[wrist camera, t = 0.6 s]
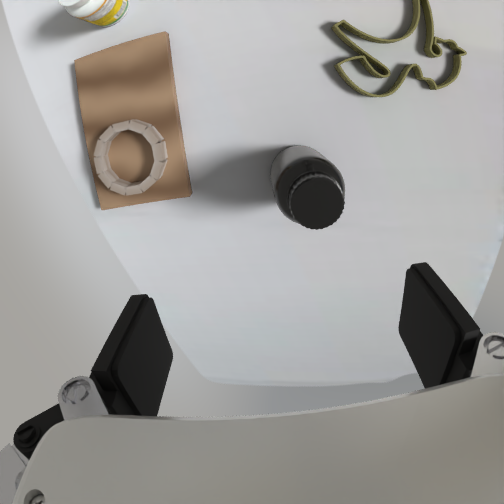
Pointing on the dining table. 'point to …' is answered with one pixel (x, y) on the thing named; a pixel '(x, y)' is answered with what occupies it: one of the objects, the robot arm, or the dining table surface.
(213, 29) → the dining table surface
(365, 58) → the cookie cutter
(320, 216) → the supplement bottle
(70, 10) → the supplement bottle
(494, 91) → the dining table surface
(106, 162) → the collar board
